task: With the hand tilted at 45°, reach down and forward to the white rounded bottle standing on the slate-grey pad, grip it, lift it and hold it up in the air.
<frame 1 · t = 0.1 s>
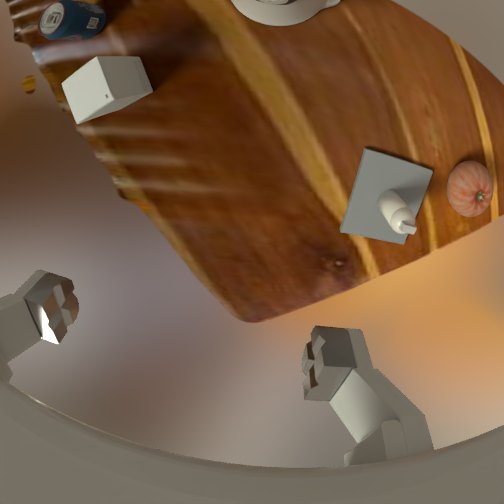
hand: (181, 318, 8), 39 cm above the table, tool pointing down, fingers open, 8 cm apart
white rounded bottle: (388, 201, 45), point 1 cm above the table, touching grey pad
grey pad: (386, 198, 45), on the table
supplement box: (129, 83, 37), on the table
tomato: (459, 180, 41), on the table
soda can: (93, 22, 29), on the table
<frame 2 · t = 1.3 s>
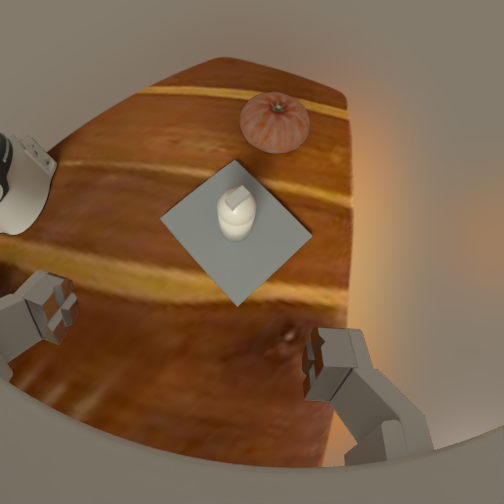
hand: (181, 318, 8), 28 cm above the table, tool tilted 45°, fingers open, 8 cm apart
white rounded bottle: (235, 226, 38), point 1 cm above the table, touching grey pad
grey pad: (235, 228, 39), on the table
tomato: (271, 137, 43), on the table
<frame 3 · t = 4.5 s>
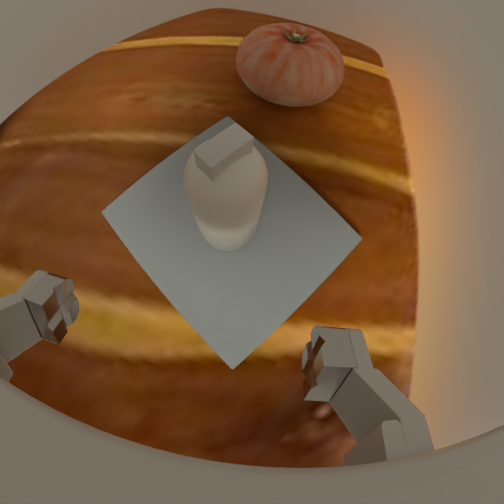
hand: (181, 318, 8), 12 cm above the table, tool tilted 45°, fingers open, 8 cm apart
white rounded bottle: (228, 222, 21), point 1 cm above the table, touching grey pad
grey pad: (228, 227, 22), on the table
tomato: (284, 89, 26), on the table
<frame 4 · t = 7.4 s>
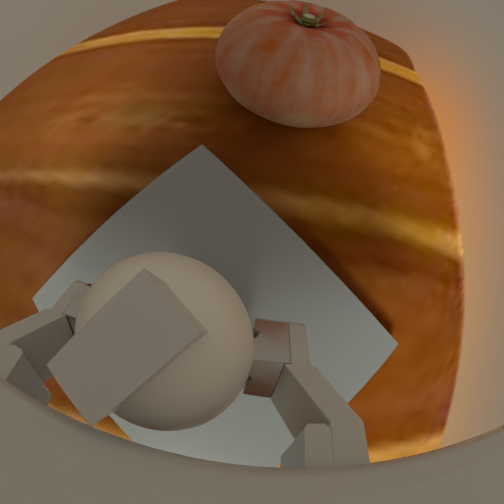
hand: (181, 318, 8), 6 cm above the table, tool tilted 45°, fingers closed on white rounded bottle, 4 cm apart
white rounded bottle: (198, 333, 13), point 1 cm above the table, touching grey pad, gripper
grey pad: (201, 333, 14), on the table
tomato: (289, 98, 18), on the table
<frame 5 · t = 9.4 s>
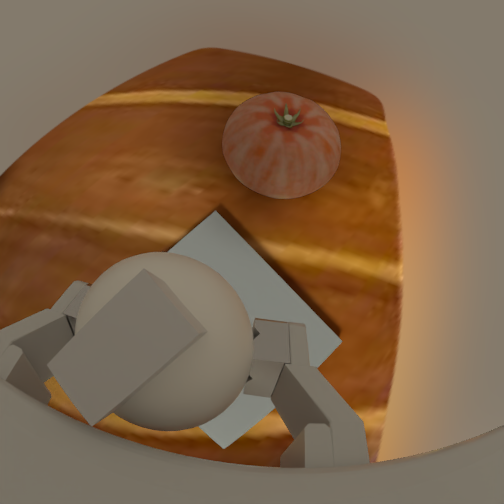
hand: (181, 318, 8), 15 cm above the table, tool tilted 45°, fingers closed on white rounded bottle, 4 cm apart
white rounded bottle: (198, 333, 13), point 11 cm above the table, touching gripper
grey pad: (218, 332, 23), on the table
tomato: (276, 166, 28), on the table
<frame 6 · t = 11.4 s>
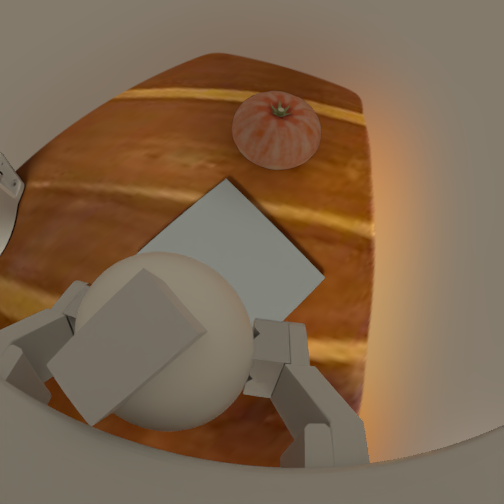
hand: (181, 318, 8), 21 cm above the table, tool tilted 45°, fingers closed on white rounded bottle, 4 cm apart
white rounded bottle: (198, 333, 13), point 17 cm above the table, touching gripper
grey pad: (227, 269, 30), on the table
tomato: (272, 148, 35), on the table
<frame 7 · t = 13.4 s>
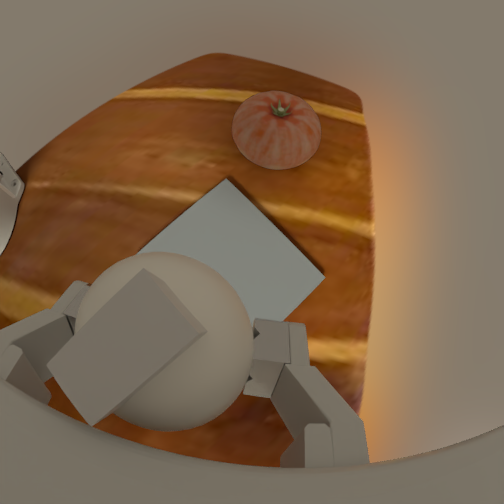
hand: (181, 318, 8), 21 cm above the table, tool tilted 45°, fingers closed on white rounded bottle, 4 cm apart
white rounded bottle: (198, 333, 13), point 16 cm above the table, touching gripper
grey pad: (227, 269, 30), on the table
tomato: (272, 147, 35), on the table
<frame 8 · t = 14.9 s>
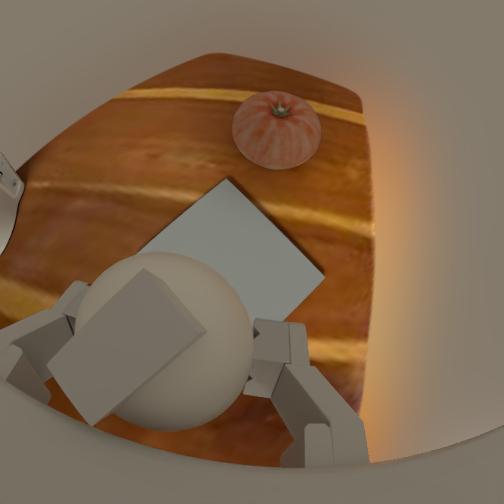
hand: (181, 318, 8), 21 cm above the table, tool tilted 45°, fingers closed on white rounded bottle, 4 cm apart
white rounded bottle: (198, 333, 13), point 16 cm above the table, touching gripper
grey pad: (227, 269, 30), on the table
tomato: (272, 147, 35), on the table
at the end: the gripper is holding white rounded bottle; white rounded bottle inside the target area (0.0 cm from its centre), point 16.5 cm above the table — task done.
